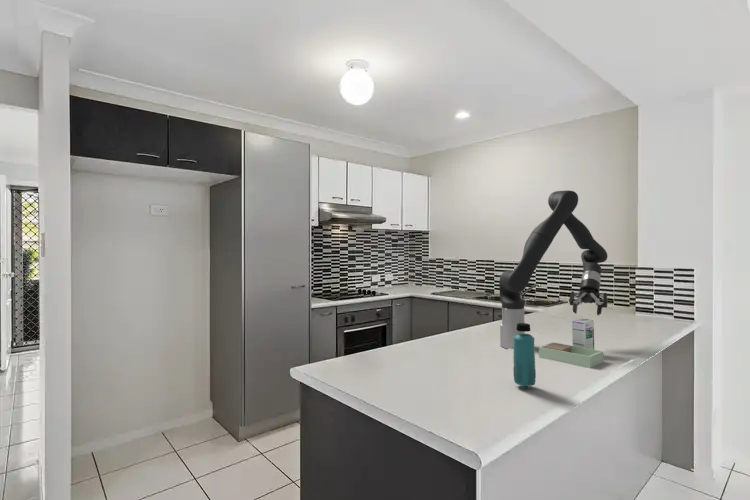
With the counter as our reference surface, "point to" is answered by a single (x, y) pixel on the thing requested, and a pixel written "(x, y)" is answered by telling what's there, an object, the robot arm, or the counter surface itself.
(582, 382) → the counter surface
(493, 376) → the counter surface
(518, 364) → the beverage bottle
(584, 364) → the tray
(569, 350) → the coffee brick
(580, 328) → the syrup box
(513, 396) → the counter surface
